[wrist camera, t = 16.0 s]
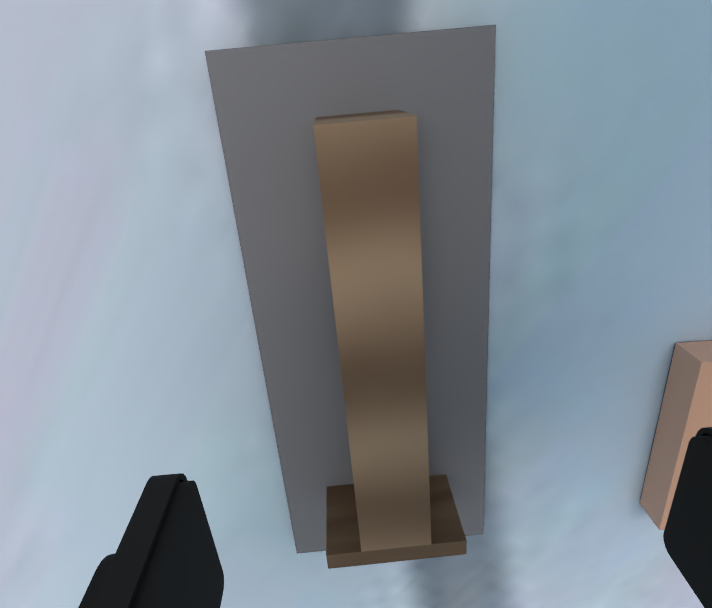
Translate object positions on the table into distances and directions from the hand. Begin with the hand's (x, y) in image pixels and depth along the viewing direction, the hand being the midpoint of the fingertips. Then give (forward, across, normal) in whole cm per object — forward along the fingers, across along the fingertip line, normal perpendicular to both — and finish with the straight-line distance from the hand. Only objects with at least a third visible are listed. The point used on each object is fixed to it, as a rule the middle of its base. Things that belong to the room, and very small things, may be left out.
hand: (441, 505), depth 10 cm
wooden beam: (+12, +1, +3) cm, 12 cm away
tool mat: (+13, +1, +4) cm, 13 cm away
